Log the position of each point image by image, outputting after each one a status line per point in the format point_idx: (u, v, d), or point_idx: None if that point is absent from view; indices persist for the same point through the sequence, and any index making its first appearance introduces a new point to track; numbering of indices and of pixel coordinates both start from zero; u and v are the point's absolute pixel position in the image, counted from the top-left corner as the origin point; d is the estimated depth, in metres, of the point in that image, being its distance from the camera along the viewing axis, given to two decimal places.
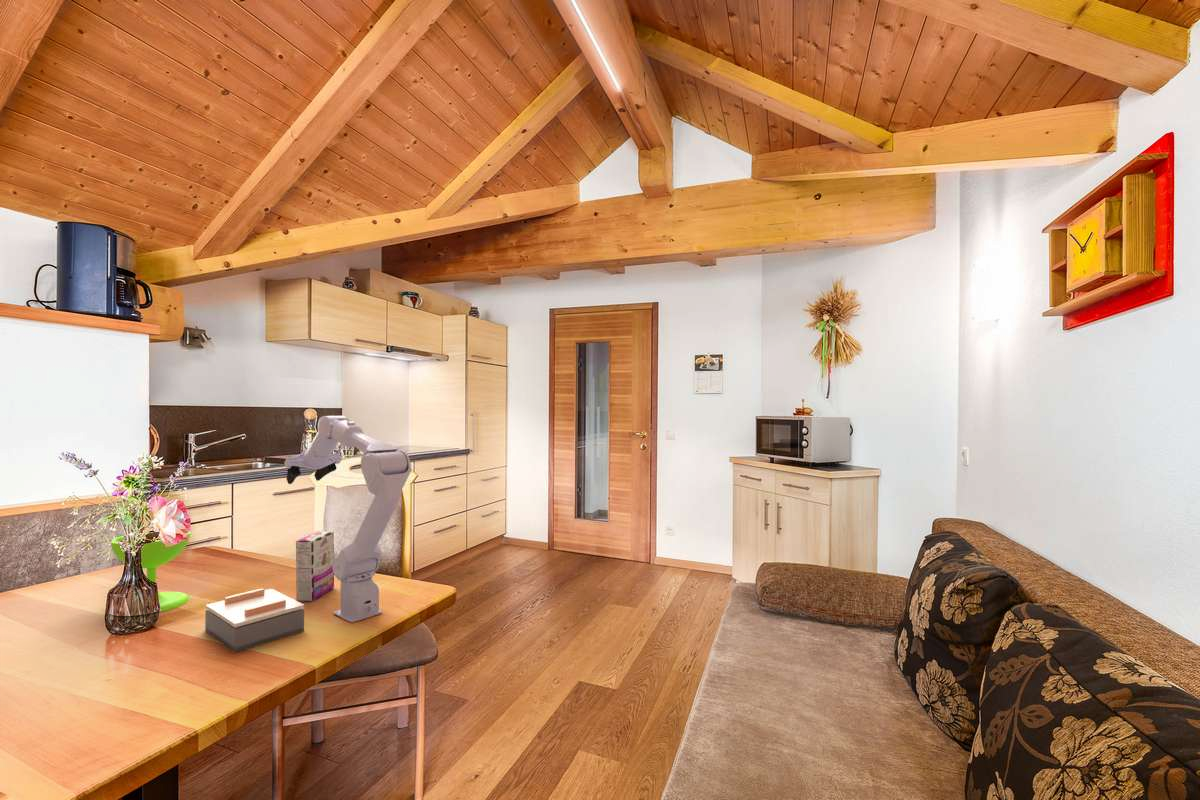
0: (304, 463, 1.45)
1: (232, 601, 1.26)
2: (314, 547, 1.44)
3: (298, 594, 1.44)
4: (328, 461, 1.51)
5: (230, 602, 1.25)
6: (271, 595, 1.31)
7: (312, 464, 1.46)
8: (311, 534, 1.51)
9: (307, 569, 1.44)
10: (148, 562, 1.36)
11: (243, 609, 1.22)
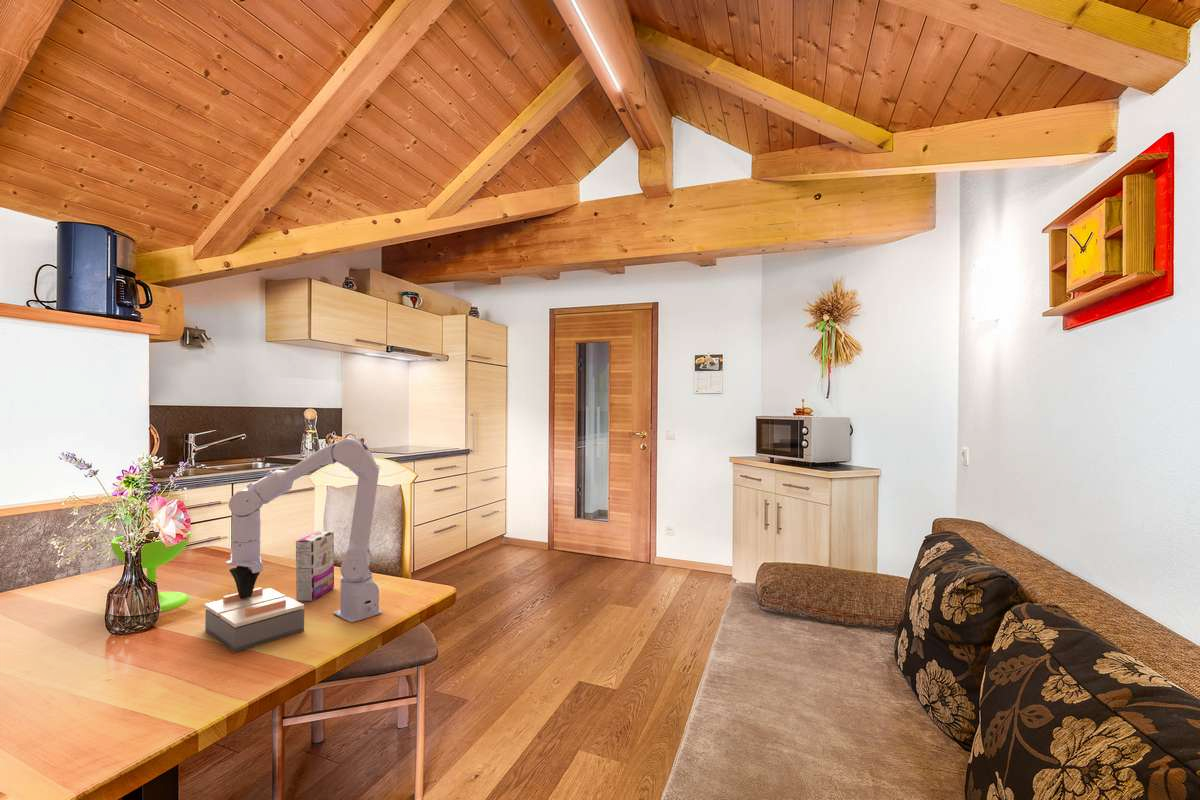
0: (255, 561, 1.27)
1: (230, 600, 1.26)
2: (314, 547, 1.44)
3: (298, 594, 1.44)
4: None
5: (228, 601, 1.26)
6: (269, 594, 1.31)
7: (259, 555, 1.29)
8: (311, 534, 1.51)
9: (307, 569, 1.44)
10: (148, 562, 1.36)
11: (243, 609, 1.22)
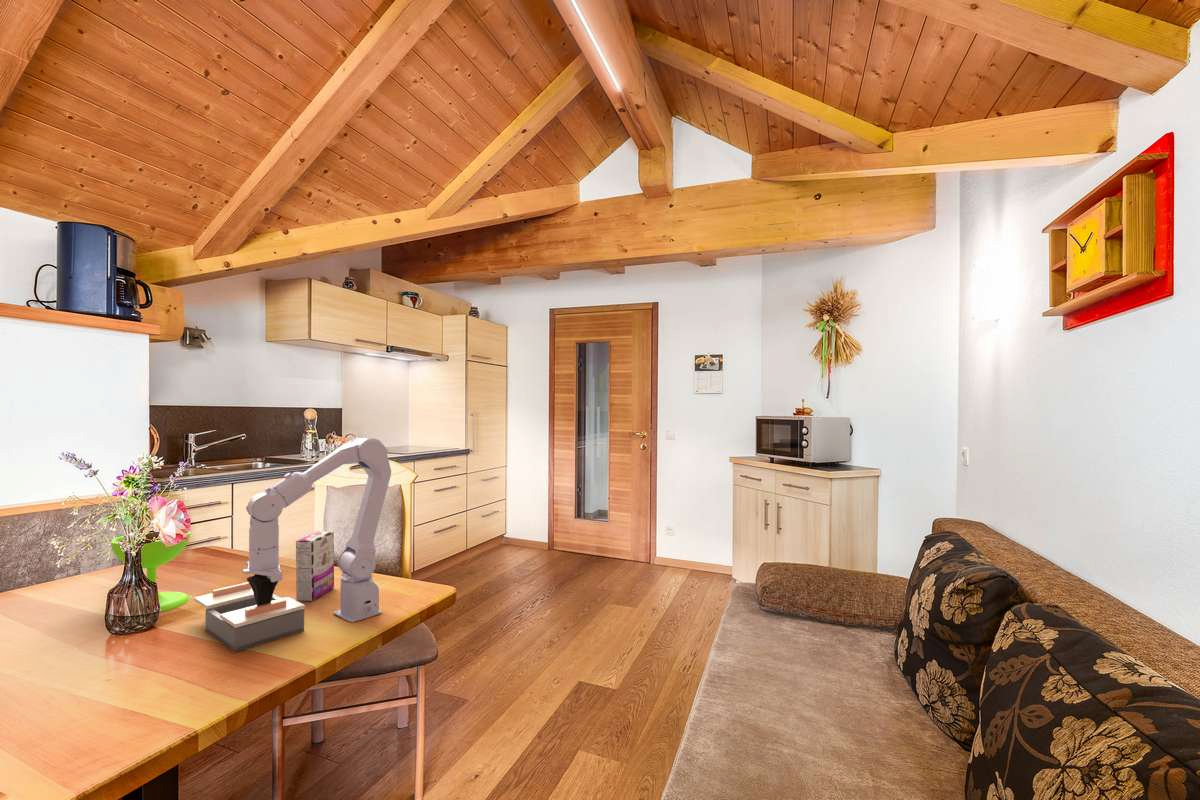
0: (274, 569, 1.21)
1: (220, 594, 1.31)
2: (314, 547, 1.44)
3: (298, 594, 1.44)
4: None
5: (218, 595, 1.30)
6: None
7: (277, 562, 1.23)
8: (311, 534, 1.51)
9: (307, 569, 1.44)
10: (148, 562, 1.36)
11: (244, 609, 1.22)
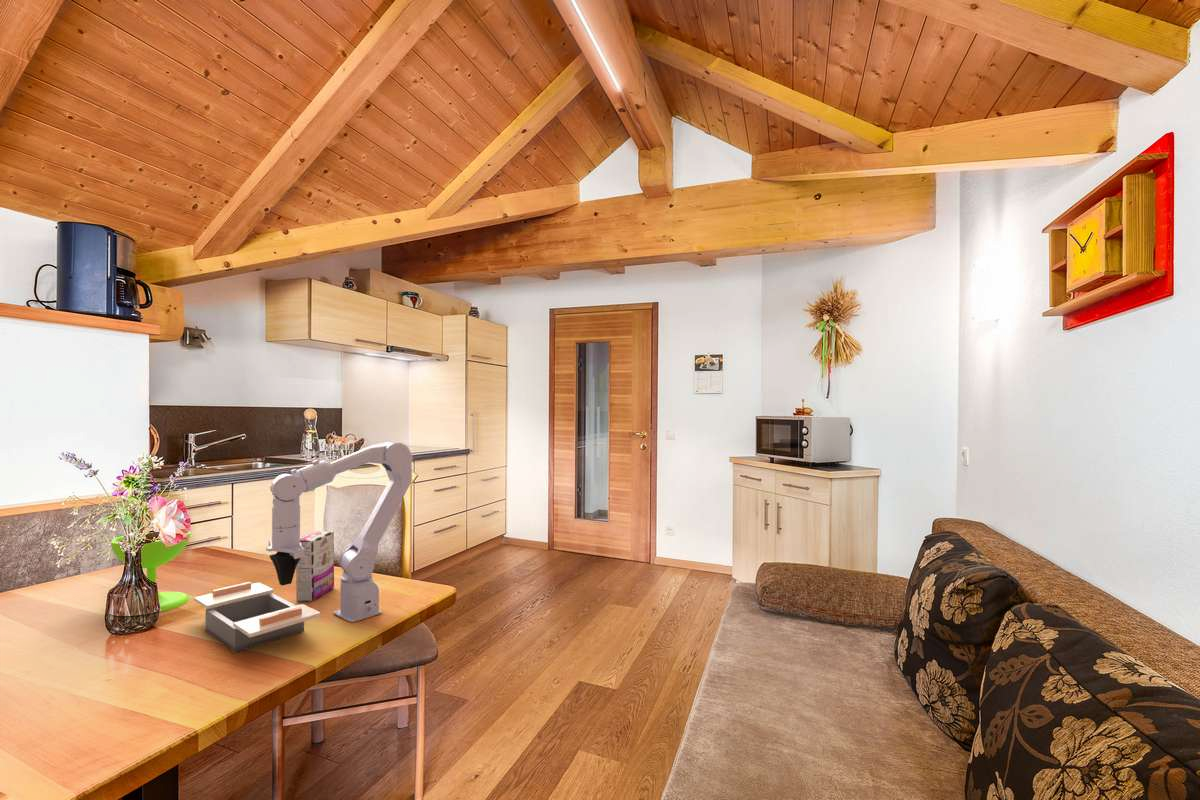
0: (296, 547, 1.25)
1: (220, 594, 1.31)
2: (314, 547, 1.44)
3: (298, 594, 1.44)
4: None
5: (218, 595, 1.30)
6: (258, 588, 1.36)
7: (299, 541, 1.27)
8: (311, 534, 1.51)
9: (307, 569, 1.44)
10: (148, 562, 1.36)
11: (257, 617, 1.17)
